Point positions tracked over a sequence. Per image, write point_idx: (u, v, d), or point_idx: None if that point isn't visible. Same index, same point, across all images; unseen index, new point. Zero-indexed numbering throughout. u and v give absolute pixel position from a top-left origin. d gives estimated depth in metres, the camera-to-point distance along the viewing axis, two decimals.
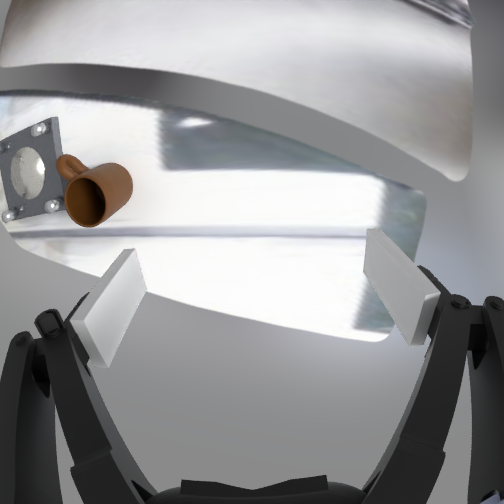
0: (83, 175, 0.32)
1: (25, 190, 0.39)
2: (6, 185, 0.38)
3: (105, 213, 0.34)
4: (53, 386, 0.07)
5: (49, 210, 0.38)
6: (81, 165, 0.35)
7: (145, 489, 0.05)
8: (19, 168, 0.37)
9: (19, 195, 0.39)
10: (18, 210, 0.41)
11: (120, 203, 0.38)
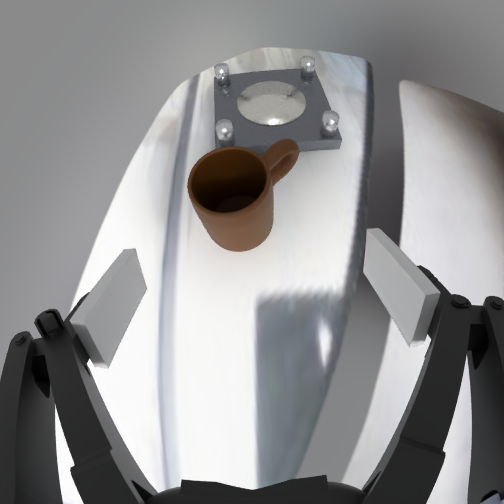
0: (270, 180, 0.24)
1: (249, 97, 0.37)
2: (259, 74, 0.39)
3: (206, 211, 0.24)
4: (53, 386, 0.07)
5: (219, 125, 0.32)
6: (278, 177, 0.29)
7: (145, 489, 0.05)
8: (279, 93, 0.37)
9: (244, 89, 0.37)
10: (224, 86, 0.38)
11: (216, 234, 0.28)
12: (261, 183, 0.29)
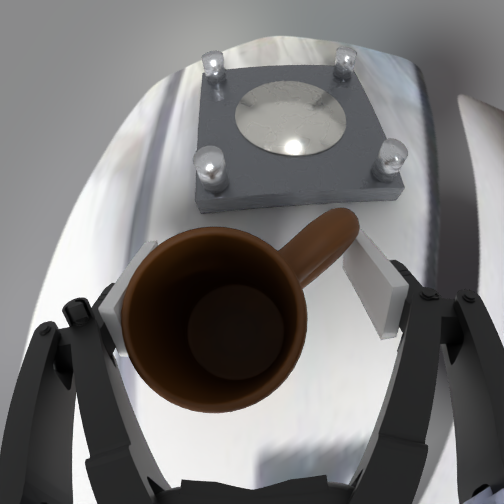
0: (304, 327, 0.10)
1: (255, 105, 0.23)
2: (271, 71, 0.25)
3: (159, 392, 0.10)
4: (76, 375, 0.07)
5: (200, 157, 0.18)
6: (311, 279, 0.15)
7: (159, 486, 0.05)
8: (303, 101, 0.23)
9: (248, 92, 0.24)
10: (217, 86, 0.25)
11: None
12: (278, 290, 0.15)
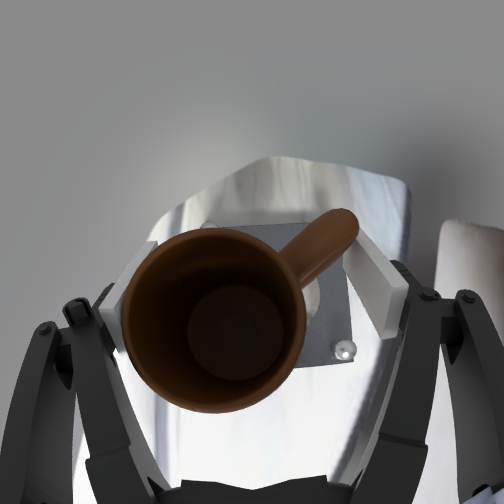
0: (304, 328, 0.10)
1: None
2: (263, 233, 0.33)
3: (159, 393, 0.10)
4: (76, 375, 0.07)
5: None
6: (311, 279, 0.15)
7: (160, 486, 0.05)
8: None
9: None
10: None
11: None
12: (277, 290, 0.15)
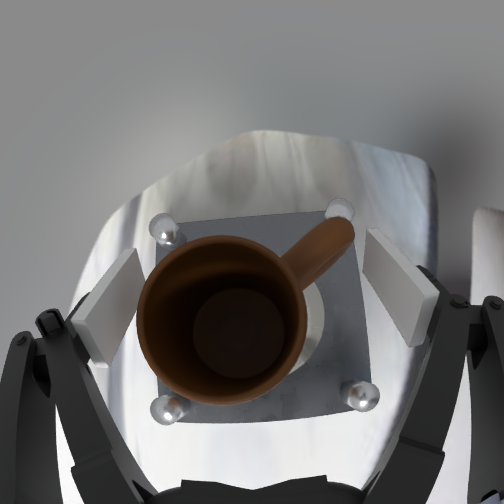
0: (305, 326, 0.11)
1: None
2: (241, 228, 0.23)
3: (173, 388, 0.11)
4: (54, 386, 0.07)
5: (157, 410, 0.16)
6: (310, 282, 0.16)
7: (145, 489, 0.05)
8: None
9: None
10: None
11: None
12: (279, 292, 0.16)
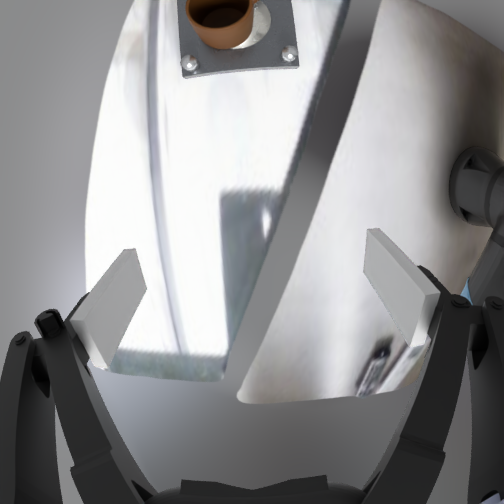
0: (252, 5, 0.22)
1: None
2: None
3: (201, 27, 0.23)
4: (53, 386, 0.07)
5: (184, 61, 0.30)
6: None
7: (145, 489, 0.05)
8: None
9: None
10: None
11: (207, 39, 0.27)
12: (244, 2, 0.25)
